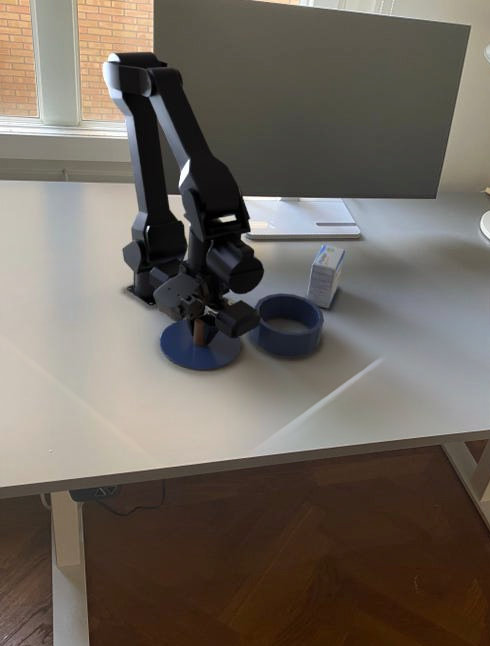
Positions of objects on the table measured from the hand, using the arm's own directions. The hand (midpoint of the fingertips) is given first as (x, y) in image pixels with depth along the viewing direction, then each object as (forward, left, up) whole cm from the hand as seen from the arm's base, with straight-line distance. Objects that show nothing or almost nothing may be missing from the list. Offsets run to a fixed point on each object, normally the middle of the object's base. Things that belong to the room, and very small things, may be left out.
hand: (200, 339), depth 115 cm
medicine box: (+3, +28, -2) cm, 28 cm away
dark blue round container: (+7, +13, -2) cm, 15 cm away
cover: (0, 0, -1) cm, 1 cm away
